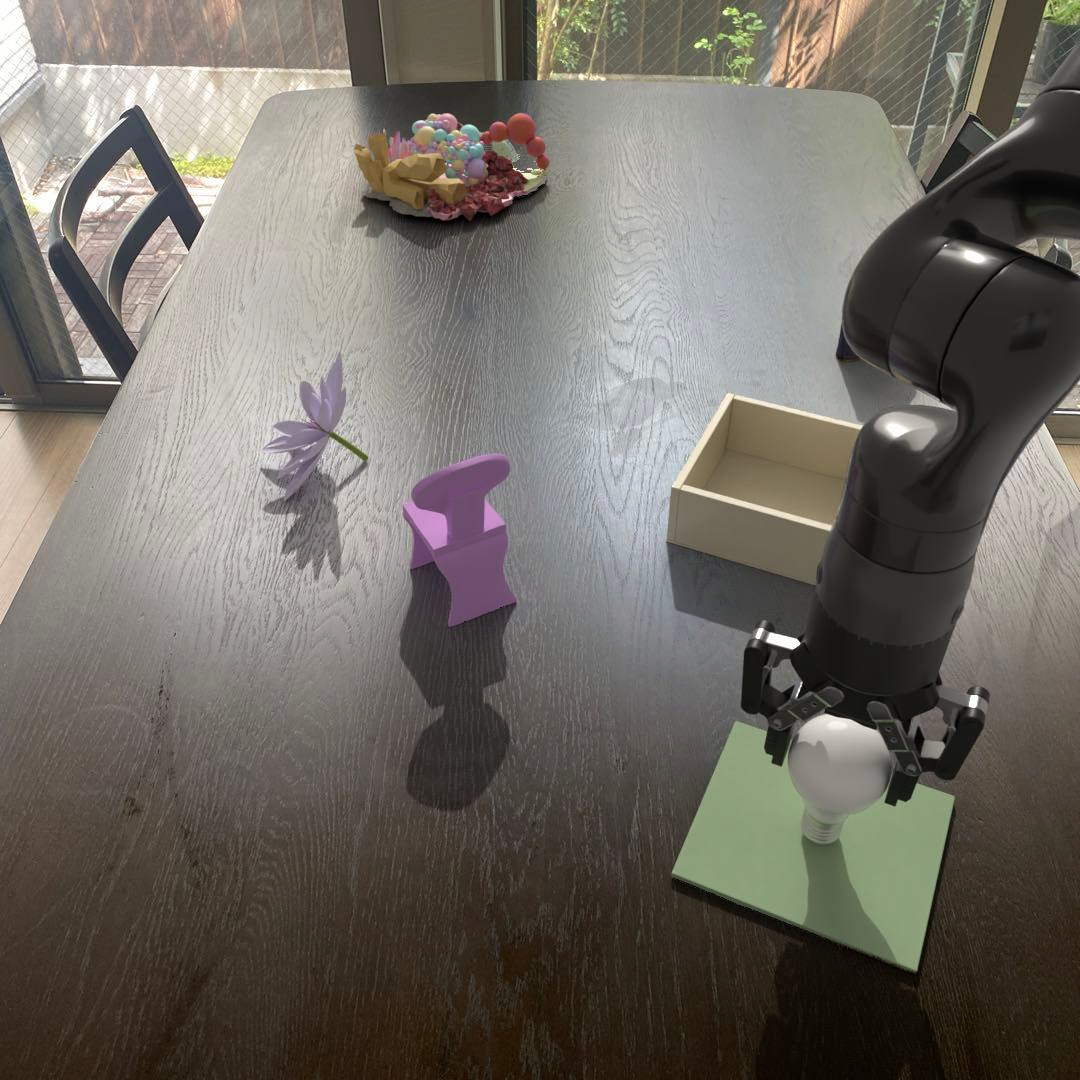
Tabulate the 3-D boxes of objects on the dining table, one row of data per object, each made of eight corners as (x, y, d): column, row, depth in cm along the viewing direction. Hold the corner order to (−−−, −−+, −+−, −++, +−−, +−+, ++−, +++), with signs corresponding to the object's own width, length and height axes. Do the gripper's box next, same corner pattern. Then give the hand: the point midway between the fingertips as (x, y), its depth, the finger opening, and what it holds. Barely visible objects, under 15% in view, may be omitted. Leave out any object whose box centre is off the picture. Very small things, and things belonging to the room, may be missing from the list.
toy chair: (482, 536, 97) (473, 398, 87) (527, 597, 91) (524, 456, 81) (396, 567, 94) (377, 428, 84) (438, 632, 89) (422, 490, 78)
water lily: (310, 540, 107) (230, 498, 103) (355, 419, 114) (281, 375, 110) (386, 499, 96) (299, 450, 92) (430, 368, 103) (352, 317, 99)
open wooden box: (879, 486, 102) (893, 432, 98) (839, 592, 91) (853, 537, 87) (720, 445, 107) (727, 392, 103) (666, 541, 96) (670, 486, 92)
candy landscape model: (474, 240, 140) (470, 170, 134) (330, 201, 149) (320, 135, 142) (568, 169, 156) (568, 104, 149) (433, 138, 165) (428, 76, 158)
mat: (953, 801, 76) (955, 796, 76) (915, 976, 67) (917, 971, 66) (734, 725, 81) (735, 720, 81) (670, 877, 72) (671, 873, 71)
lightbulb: (764, 858, 72) (787, 759, 65) (780, 783, 77) (803, 682, 69) (861, 886, 71) (896, 787, 63) (871, 807, 75) (905, 706, 68)
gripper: (1037, 584, 58) (960, 769, 69) (777, 512, 63) (743, 696, 74) (1020, 681, 53) (939, 864, 64) (738, 595, 58) (708, 779, 69)
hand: (835, 773), depth 69 cm, fingers open, 6 cm apart
